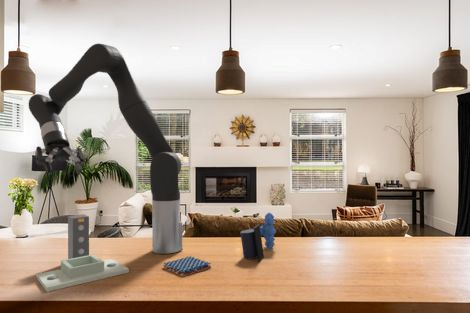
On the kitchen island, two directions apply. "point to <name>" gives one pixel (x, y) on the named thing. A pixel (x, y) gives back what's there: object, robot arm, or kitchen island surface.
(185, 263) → the woven mat
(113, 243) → the kitchen island surface
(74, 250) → the tall grey pillar
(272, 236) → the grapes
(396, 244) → the kitchen island surface
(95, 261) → the bracket
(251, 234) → the speaker
